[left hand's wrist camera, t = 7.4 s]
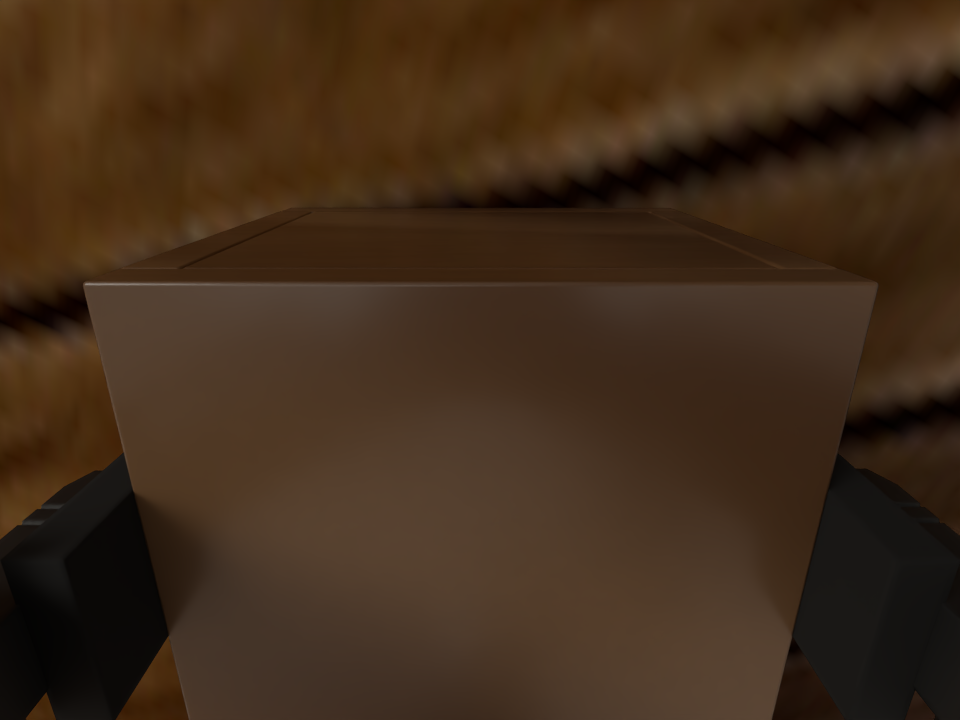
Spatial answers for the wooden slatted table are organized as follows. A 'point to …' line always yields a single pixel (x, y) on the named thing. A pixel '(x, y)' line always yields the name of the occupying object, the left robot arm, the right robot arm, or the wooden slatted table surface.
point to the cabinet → (480, 459)
